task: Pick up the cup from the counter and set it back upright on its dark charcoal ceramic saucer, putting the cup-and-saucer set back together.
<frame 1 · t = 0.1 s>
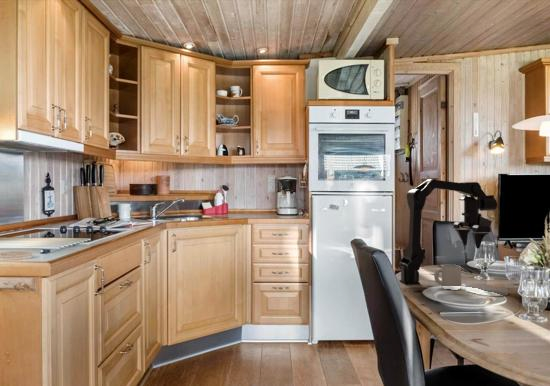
hand: (471, 246, 179), 15 cm above the table, tool pointing down, fingers open, 9 cm apart
saucer: (486, 292, 160), on the table
cup: (447, 288, 166), on the table
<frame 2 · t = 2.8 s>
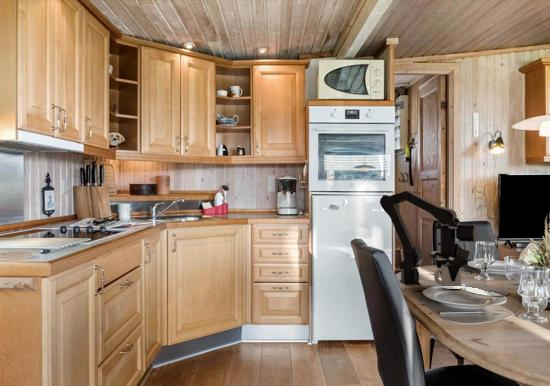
hand: (448, 279, 166), 4 cm above the table, tool pointing down, fingers closed on cup, 7 cm apart
cup: (447, 288, 166), on the table, touching gripper
everything else where it was.
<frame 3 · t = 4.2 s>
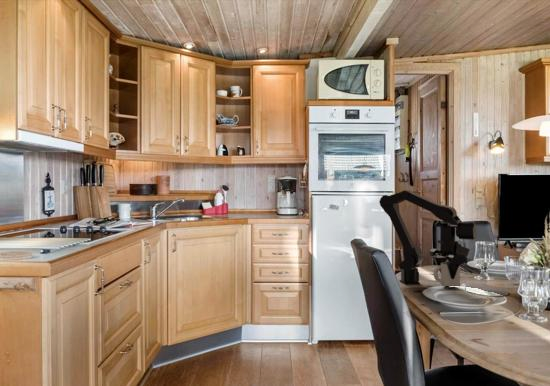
hand: (447, 276, 166), 5 cm above the table, tool pointing down, fingers closed on cup, 7 cm apart
cup: (446, 285, 166), point 1 cm above the table, touching gripper
everything else where it was.
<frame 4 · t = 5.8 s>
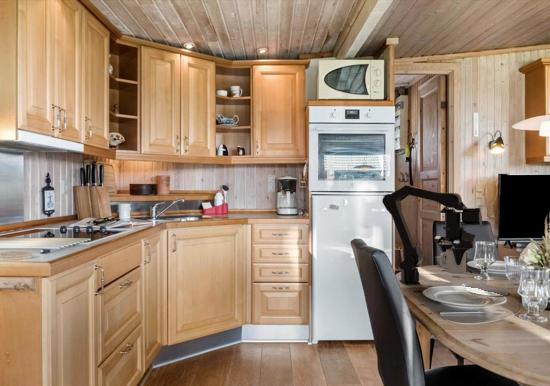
hand: (453, 263, 165), 10 cm above the table, tool pointing down, fingers closed on cup, 7 cm apart
cup: (452, 272, 165), point 6 cm above the table, touching gripper
everything else where it was.
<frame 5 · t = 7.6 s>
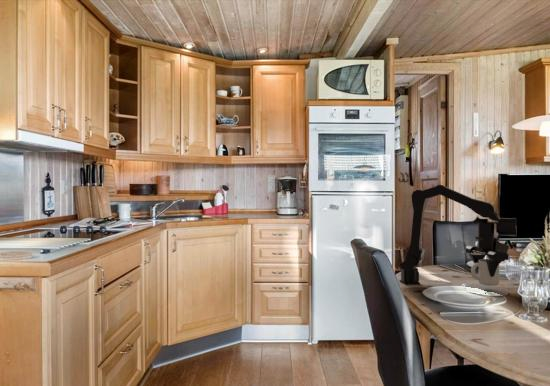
hand: (485, 274, 160), 6 cm above the table, tool pointing down, fingers closed on cup, 7 cm apart
cup: (484, 283, 161), point 3 cm above the table, touching gripper
everything else where it was.
when the fingers open (6 cm above the table, at t = 9.0 s): cup drops 2 cm, resting on saucer.
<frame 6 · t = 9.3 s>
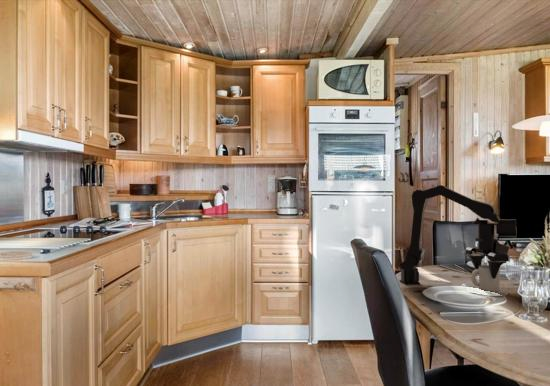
hand: (486, 275, 160), 6 cm above the table, tool pointing down, fingers open, 9 cm apart
saucer: (486, 293, 160), on the table, touching cup
cup: (485, 290, 161), resting on saucer
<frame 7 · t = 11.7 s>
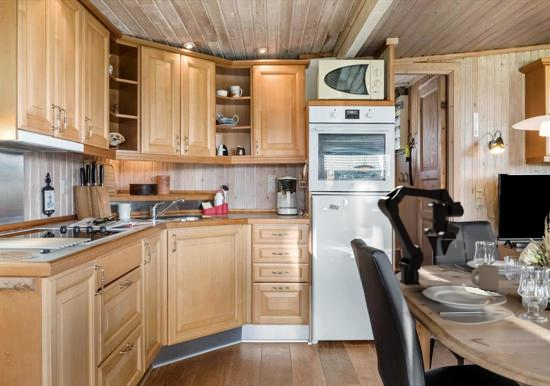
hand: (439, 253, 179), 12 cm above the table, tool pointing down, fingers open, 9 cm apart
nothing on the table moved.
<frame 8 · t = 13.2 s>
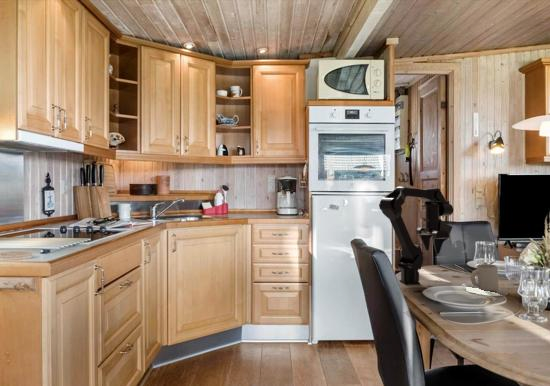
hand: (432, 251, 182), 12 cm above the table, tool pointing down, fingers open, 9 cm apart
at the end: cup 0.5 cm off-centre on the saucer, point 1.2 cm above the saucer's base; cup tilted 5°; the gripper is holding nothing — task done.
